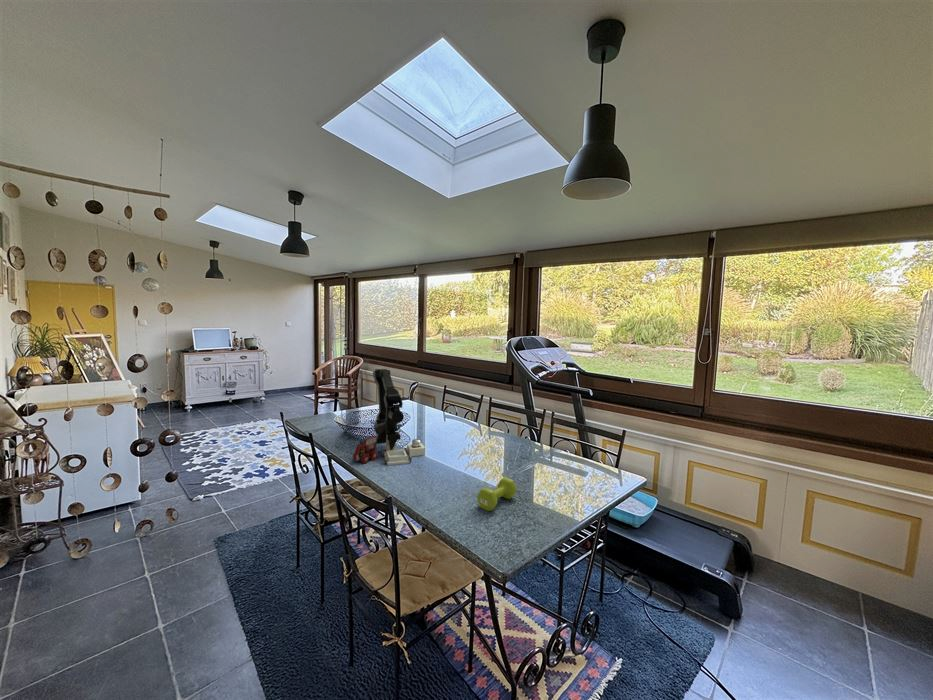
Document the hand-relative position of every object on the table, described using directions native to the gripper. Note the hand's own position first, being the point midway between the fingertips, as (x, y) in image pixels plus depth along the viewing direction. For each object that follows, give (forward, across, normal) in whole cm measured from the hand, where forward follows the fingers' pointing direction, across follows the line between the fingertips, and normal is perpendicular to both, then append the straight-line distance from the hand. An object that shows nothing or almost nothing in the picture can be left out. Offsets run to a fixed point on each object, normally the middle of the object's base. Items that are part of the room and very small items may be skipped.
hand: (390, 448), depth 178 cm
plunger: (-2, +6, +11) cm, 13 cm away
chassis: (+1, +11, +1) cm, 11 cm away
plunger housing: (+1, +6, +12) cm, 13 cm away
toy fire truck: (+2, +9, -13) cm, 16 cm away
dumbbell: (+2, +61, +30) cm, 68 cm away
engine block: (+1, 0, 0) cm, 1 cm away
